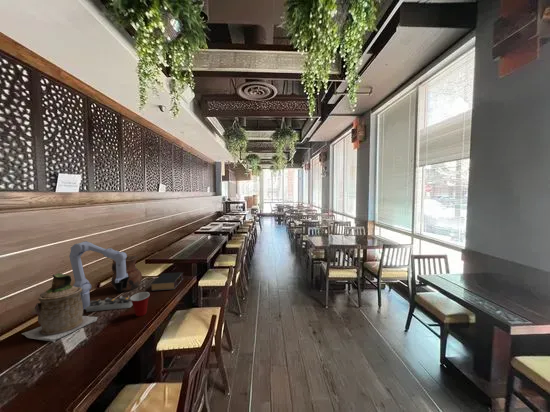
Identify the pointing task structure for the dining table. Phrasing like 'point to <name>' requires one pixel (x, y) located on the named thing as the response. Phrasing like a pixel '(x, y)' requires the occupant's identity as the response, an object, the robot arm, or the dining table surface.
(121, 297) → the rocker
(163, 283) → the book
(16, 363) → the dining table surface
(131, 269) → the jug
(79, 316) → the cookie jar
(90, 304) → the rocker
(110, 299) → the rocker
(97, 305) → the power strip
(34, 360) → the dining table surface
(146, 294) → the plastic cup
